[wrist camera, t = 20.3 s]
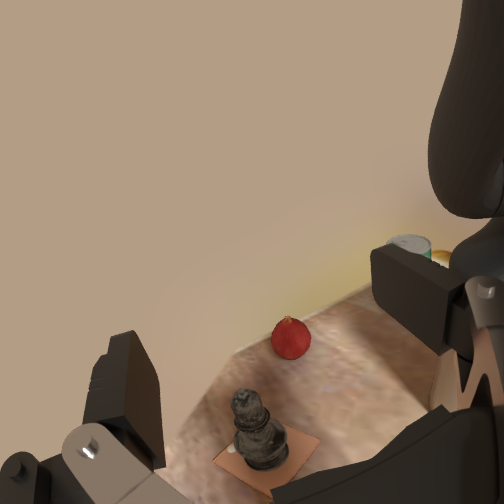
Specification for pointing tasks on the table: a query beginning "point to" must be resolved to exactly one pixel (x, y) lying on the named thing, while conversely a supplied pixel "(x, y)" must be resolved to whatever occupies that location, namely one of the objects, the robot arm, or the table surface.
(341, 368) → the table surface
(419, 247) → the canned tomato
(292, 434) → the tile two
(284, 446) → the salt shaker
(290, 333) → the onion
